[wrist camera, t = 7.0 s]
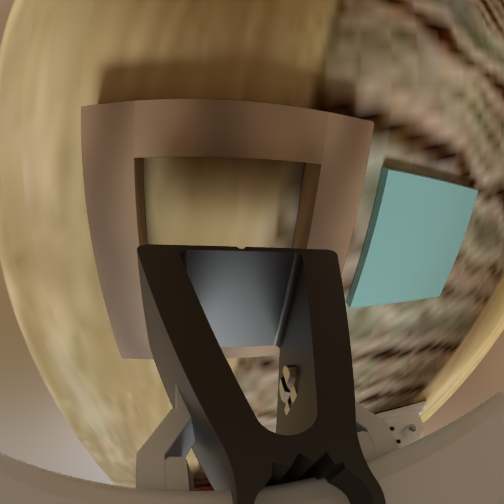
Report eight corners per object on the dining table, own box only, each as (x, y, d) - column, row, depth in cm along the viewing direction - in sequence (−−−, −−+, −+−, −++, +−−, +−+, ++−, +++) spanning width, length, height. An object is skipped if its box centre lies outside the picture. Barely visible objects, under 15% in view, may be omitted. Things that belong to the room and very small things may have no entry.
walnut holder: (353, 118, 16) (374, 122, 14) (308, 330, 25) (317, 350, 23) (97, 105, 13) (81, 106, 11) (126, 336, 22) (121, 358, 20)
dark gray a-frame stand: (149, 341, 14) (143, 564, 4) (138, 243, 12) (77, 571, 1) (306, 339, 16) (382, 528, 6) (334, 249, 13) (488, 479, 3)
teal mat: (472, 187, 20) (478, 190, 20) (435, 291, 26) (439, 296, 26) (382, 166, 18) (388, 169, 18) (346, 302, 24) (349, 308, 23)
